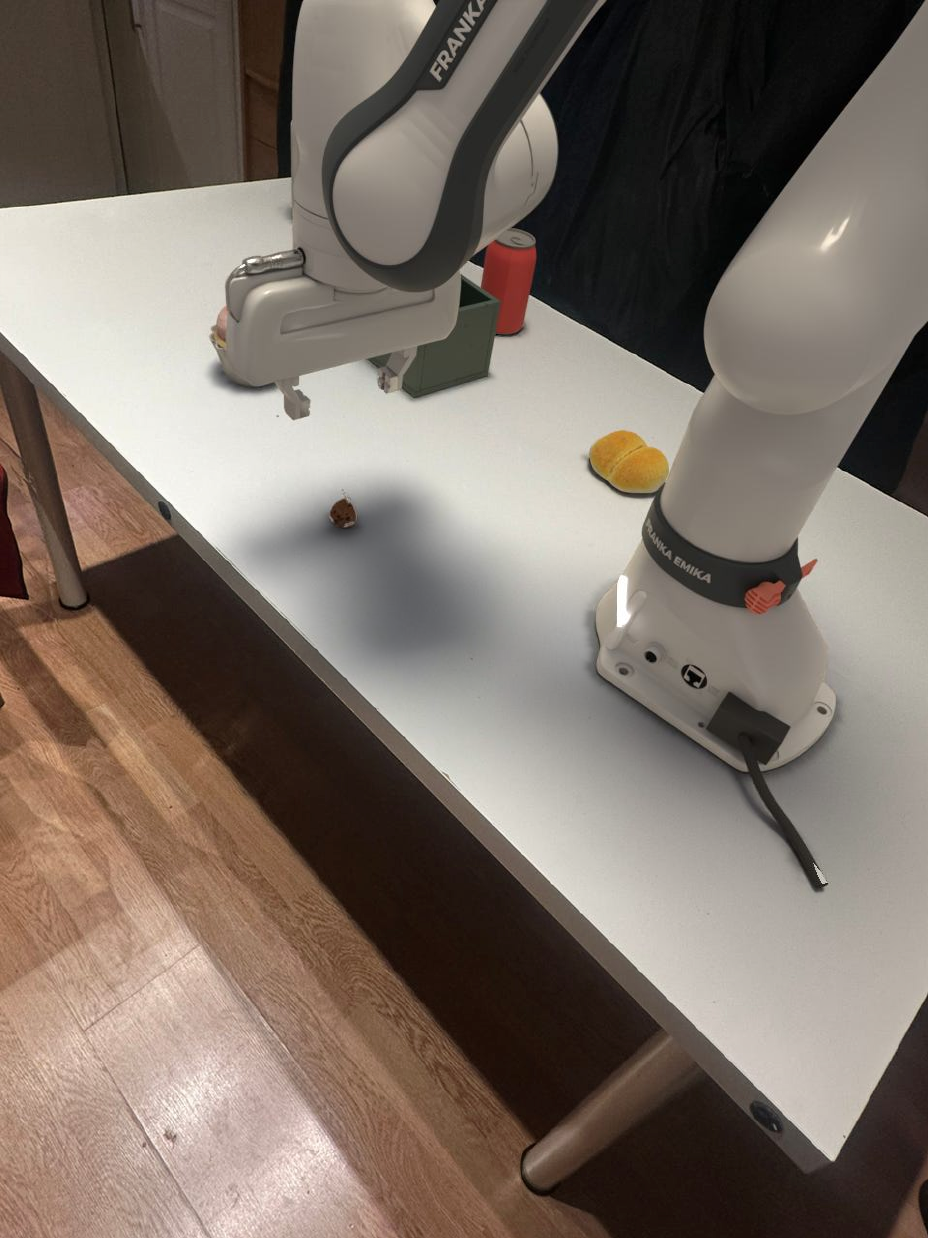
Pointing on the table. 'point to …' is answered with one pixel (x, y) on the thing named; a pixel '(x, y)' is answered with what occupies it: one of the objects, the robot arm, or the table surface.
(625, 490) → the bread roll
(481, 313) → the bin
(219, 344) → the cupcake
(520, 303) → the beer can
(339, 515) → the chocolate
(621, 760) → the table surface
